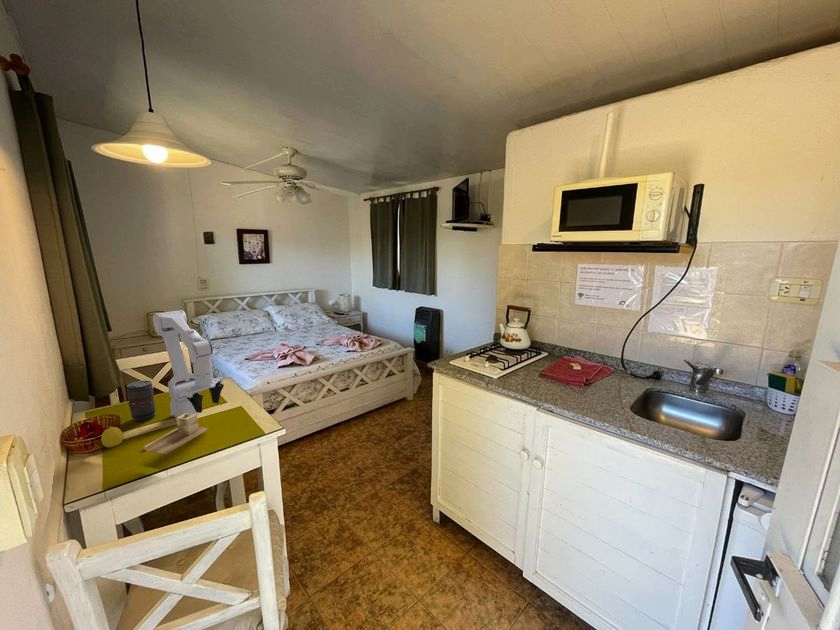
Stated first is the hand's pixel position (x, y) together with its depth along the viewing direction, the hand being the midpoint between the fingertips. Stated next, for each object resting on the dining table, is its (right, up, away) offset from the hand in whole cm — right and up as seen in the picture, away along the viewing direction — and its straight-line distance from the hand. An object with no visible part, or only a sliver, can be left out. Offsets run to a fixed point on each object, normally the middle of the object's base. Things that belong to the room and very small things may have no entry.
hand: (207, 407), depth 129 cm
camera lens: (-33, -8, +12) cm, 36 cm away
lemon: (-27, -12, -9) cm, 31 cm away
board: (-7, -11, -5) cm, 14 cm away
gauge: (-7, -9, -1) cm, 11 cm away
